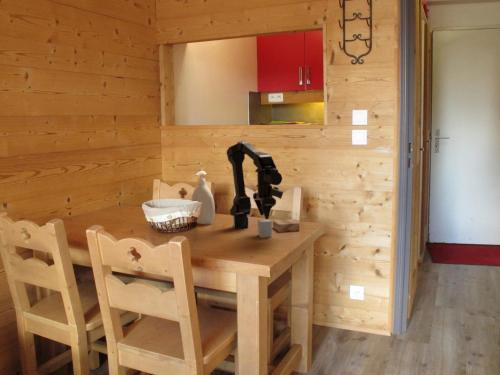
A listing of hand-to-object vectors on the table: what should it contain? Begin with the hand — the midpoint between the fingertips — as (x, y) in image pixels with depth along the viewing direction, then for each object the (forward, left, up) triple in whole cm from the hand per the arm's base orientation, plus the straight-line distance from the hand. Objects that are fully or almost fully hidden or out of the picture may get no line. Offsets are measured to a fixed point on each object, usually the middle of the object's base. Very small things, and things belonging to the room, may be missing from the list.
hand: (264, 217), depth 224 cm
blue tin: (0, 0, -9) cm, 9 cm away
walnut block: (+13, +10, -9) cm, 19 cm away
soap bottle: (-24, +35, -9) cm, 43 cm away
